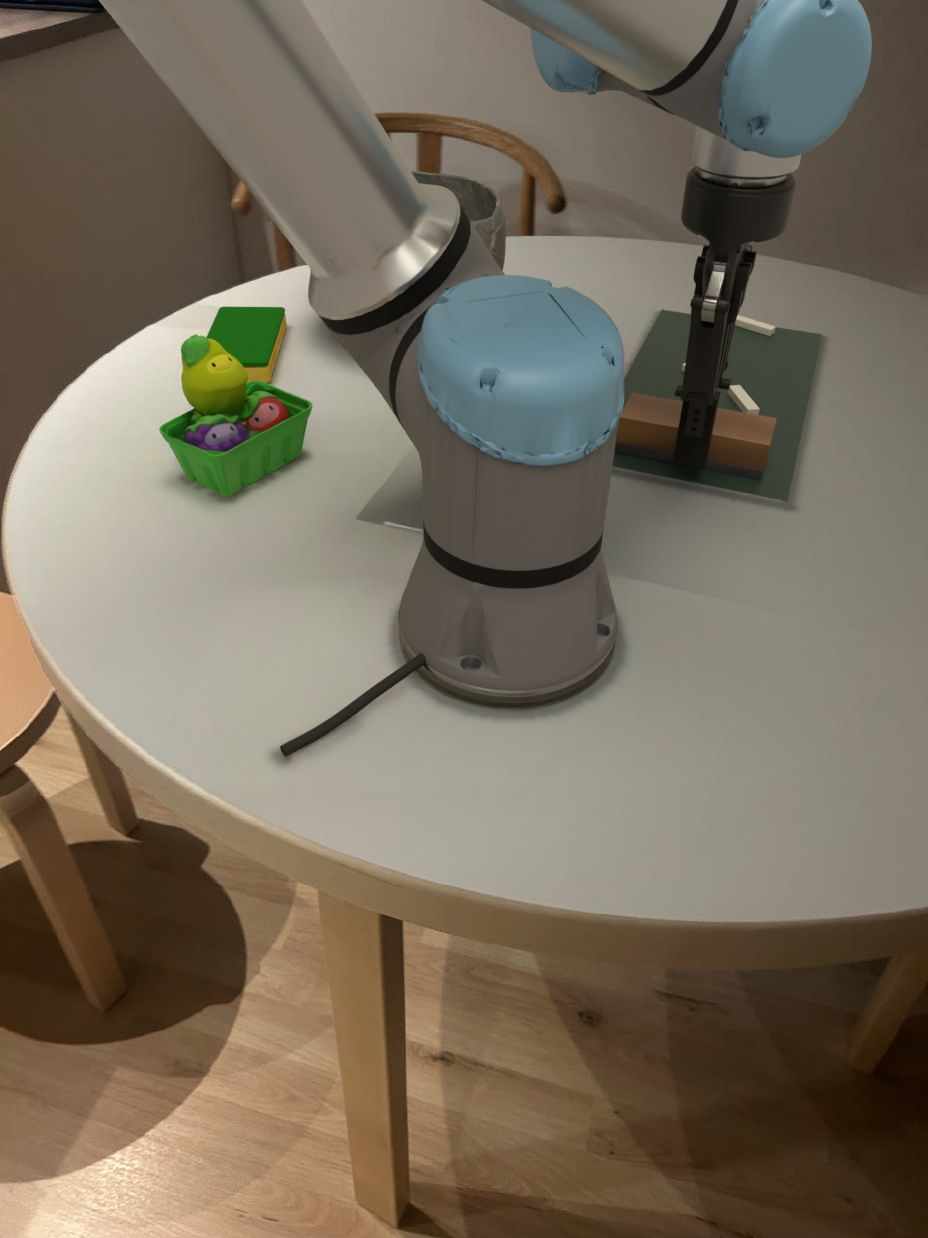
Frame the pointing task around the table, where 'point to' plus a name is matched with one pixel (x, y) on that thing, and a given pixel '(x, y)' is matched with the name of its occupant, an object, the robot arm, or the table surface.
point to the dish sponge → (251, 337)
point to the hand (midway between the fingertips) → (689, 461)
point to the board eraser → (733, 442)
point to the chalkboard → (760, 367)
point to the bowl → (475, 208)
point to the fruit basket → (232, 421)
